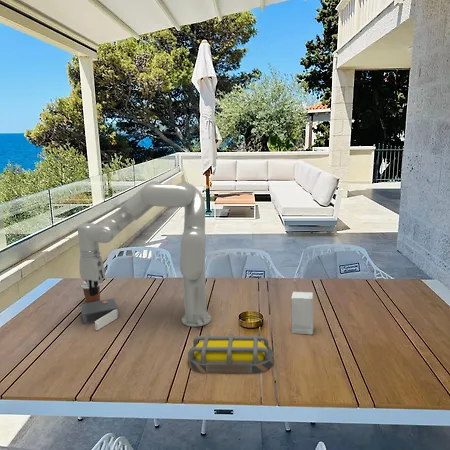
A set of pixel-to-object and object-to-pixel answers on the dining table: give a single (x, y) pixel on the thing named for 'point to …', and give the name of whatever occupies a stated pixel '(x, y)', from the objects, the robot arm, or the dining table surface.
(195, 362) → the cage light
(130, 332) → the dining table surface
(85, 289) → the coffee cup
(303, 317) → the skincare box
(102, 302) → the gray button box
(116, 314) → the light grey flat bar
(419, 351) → the dining table surface
